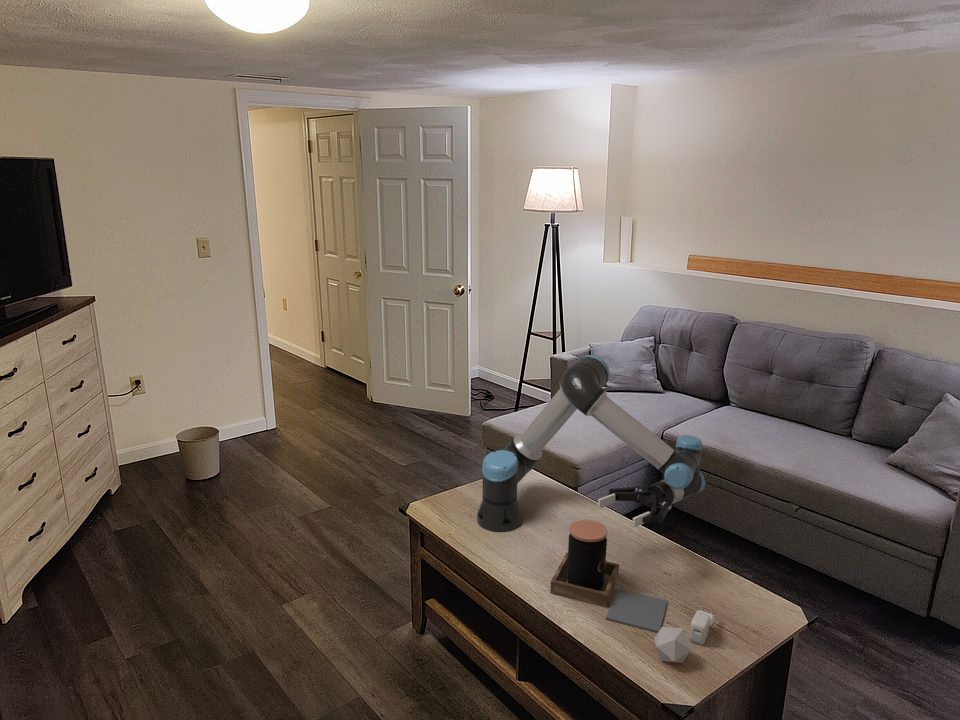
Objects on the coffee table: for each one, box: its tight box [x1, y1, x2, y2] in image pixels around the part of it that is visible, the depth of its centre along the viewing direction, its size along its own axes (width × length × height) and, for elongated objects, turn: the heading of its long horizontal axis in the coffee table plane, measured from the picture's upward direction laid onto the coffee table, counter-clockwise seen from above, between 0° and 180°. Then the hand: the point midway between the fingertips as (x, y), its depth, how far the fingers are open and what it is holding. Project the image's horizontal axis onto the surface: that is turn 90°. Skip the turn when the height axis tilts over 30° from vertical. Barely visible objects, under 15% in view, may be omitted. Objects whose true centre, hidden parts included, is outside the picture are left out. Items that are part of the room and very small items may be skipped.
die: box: [653, 626, 692, 664], centre depth 166 cm, size 8×9×10 cm
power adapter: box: [689, 606, 716, 646], centre depth 176 cm, size 11×5×6 cm, turn 148°
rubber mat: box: [605, 588, 668, 634], centre depth 185 cm, size 14×14×1 cm
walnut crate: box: [549, 551, 620, 608], centre depth 195 cm, size 16×16×4 cm
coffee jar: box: [566, 519, 608, 591], centre depth 193 cm, size 11×11×18 cm
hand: (615, 513), depth 195 cm, fingers open, 13 cm apart
